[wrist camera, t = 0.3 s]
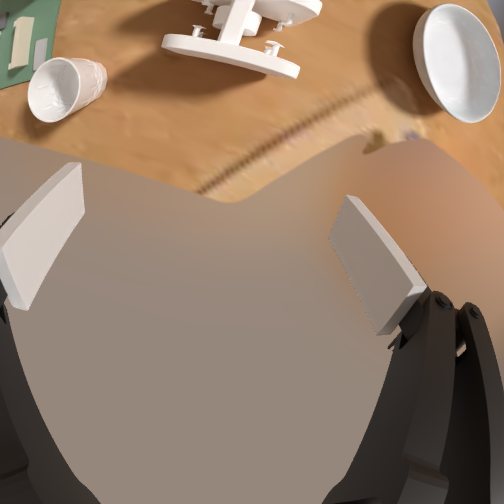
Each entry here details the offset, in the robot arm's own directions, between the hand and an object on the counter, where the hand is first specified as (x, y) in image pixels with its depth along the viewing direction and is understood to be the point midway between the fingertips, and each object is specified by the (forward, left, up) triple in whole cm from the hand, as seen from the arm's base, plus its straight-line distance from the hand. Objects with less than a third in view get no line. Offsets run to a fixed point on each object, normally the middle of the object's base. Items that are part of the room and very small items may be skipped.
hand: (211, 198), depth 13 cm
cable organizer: (-12, +1, -28) cm, 30 cm away
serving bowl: (-20, +35, -28) cm, 49 cm away
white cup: (-4, -19, -28) cm, 34 cm away
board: (-17, -34, -27) cm, 47 cm away
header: (-13, -36, -27) cm, 47 cm away
